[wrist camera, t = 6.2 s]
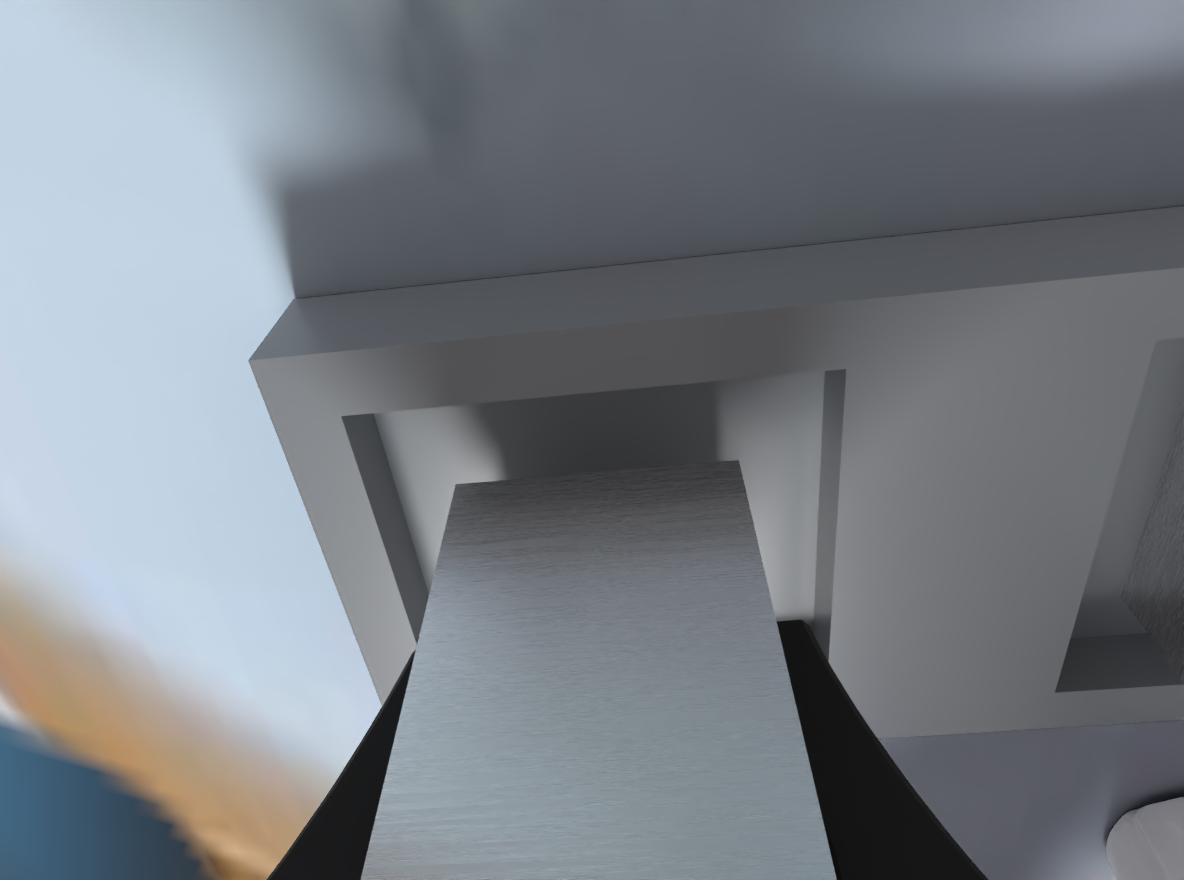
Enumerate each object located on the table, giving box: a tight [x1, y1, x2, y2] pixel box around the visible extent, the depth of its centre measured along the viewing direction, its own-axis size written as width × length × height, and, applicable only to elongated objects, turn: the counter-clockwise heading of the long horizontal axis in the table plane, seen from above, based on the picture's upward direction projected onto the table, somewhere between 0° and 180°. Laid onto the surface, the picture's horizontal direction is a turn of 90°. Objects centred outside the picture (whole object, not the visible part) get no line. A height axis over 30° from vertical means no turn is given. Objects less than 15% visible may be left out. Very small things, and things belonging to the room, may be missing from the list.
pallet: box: [248, 206, 1184, 739], centre depth 14 cm, size 9×20×2 cm, turn 97°
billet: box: [361, 460, 837, 880], centre depth 10 cm, size 5×4×7 cm
